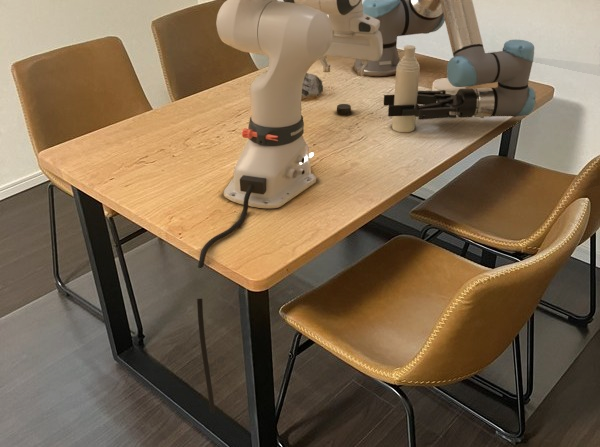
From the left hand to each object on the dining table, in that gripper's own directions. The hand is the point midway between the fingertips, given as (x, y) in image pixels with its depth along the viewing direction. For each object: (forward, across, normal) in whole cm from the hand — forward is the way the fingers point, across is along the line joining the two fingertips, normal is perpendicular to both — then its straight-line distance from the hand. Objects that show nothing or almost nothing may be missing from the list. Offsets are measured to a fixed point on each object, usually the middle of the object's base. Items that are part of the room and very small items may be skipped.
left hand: (343, 73), depth 168 cm
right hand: (+5, +14, -6) cm, 16 cm away
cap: (+10, 0, +1) cm, 10 cm away
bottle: (+12, +18, -4) cm, 22 cm away
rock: (+11, -17, +12) cm, 24 cm away
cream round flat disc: (+11, +26, +24) cm, 37 cm away
